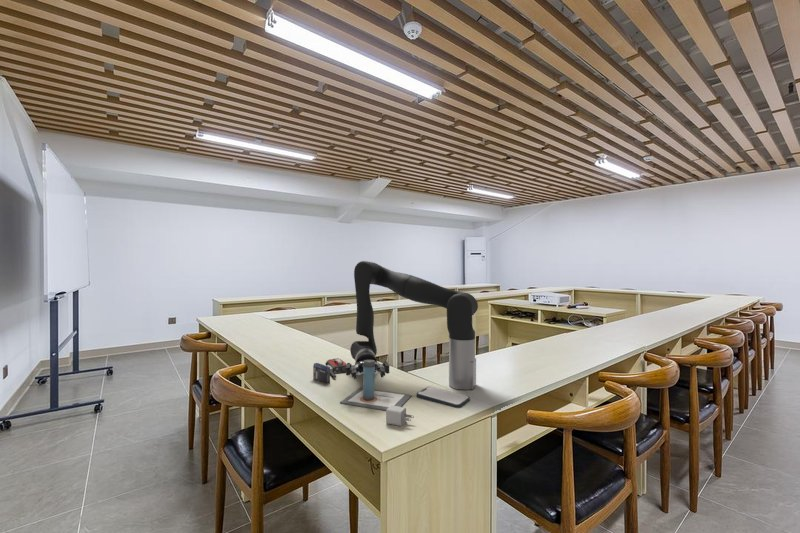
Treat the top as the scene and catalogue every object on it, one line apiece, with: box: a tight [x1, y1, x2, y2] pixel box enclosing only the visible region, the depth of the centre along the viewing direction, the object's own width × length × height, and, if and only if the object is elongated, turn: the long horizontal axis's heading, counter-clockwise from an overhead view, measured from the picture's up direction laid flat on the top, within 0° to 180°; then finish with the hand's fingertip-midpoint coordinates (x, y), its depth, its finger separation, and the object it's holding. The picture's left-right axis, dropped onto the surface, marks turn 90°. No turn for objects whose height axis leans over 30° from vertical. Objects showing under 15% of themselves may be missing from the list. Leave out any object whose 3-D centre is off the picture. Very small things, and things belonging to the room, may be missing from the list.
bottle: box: [362, 360, 376, 401], centre depth 114 cm, size 4×4×12 cm
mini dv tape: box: [312, 362, 331, 385], centre depth 133 cm, size 8×2×6 cm, turn 49°
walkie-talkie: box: [324, 357, 347, 379], centre depth 145 cm, size 9×4×20 cm
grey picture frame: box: [339, 387, 413, 412], centre depth 115 cm, size 19×14×1 cm
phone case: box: [416, 386, 471, 409], centre depth 116 cm, size 9×2×16 cm
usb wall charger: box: [385, 405, 415, 427], centre depth 98 cm, size 4×7×4 cm, turn 67°
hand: (368, 375), depth 112 cm, fingers open, 8 cm apart
